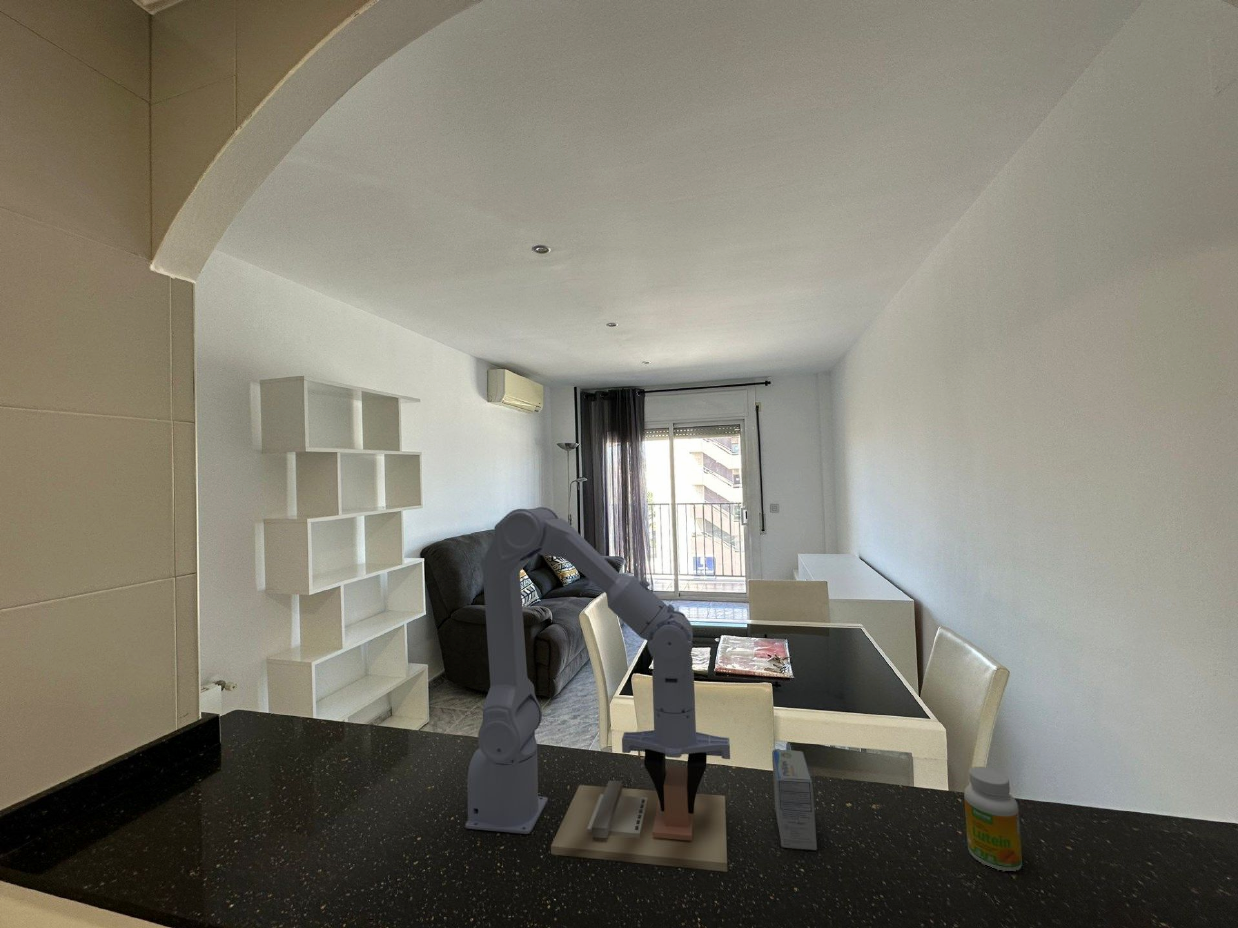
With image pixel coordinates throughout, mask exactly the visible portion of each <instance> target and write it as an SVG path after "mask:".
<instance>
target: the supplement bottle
mask: <svg viewBox="0 0 1238 928" xmlns="http://www.w3.org/2000/svg"><path fill="white" fill-rule="evenodd" d="M968 777H969V783H970V784H968V785H967V786H966V787H965V789H964V793H963V794H964V796H963V797H964V800H963V801H964V811H965V812H964V813H965V825H966V826H965V827H966V839H967V842H966V843H967V848H968V852H969V853H970V855H971V856H972V857H973V858H974V859H975V860H976V861H977V860H978V861H977V862H979V863H980V862H981V863H980V864H982V865H983V866H985V865H987V866H990V867H992V868H995V869H997V870H996V871H999V870H1002V871H1001V872H1005V871H1014V872H1017V871H1020V870H1021V868H1022V866H1023V857H1022V856H1023V854H1022V853H1023V852H1022V841H1021V840H1022V839H1021V829H1020V815H1019V813H1020V811H1019V805H1018V802H1017V801H1016V799H1015V797H1013V796H1012V795H1011V794H1010V793H1011V786H1010V780H1009V777H1008V776H1007V775H1006V774H1004V773H1003V772H1001V771H998V770H996V769H995V768H994V769H993V768H990V767H986V766H973V767H971V768H969V770H968ZM987 866H986V867H987ZM990 867H989V868H990ZM992 868H991V869H992ZM995 869H994V870H995ZM1016 870H1017V871H1016Z"/></svg>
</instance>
